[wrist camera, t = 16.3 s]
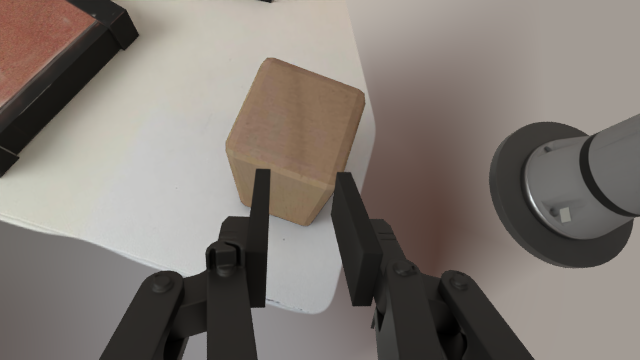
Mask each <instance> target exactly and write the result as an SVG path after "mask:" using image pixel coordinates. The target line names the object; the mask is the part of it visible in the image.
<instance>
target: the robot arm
mask: <svg viewBox="0 0 640 360" xmlns="http://www.w3.org/2000/svg"><path fill="white" fill-rule="evenodd" d="M270 177H271V169H257V168H256V172H255V180H254V187H253V195H252V203H251V211H250V217H236V216H228V217H227V218H226V219H225V221H224V222H223V223H222V225H221V229H220V233H219V239H218V241H216V242H214V243H212V244H211V245H210V246H209V247H208V248H207V250H206V268H207V269H206V270H205V271H204V272H202V273H200V274H197V275H194V276H190V277H186V278H183V277H182V275H180V274H179V273H177V272H175V271H160V272H158V273H154V274H152V275H151V276H149V277H147V278H146V279H145V280H144V282H143V283H142V285H141V286H140V288H139V290H138V291H137V293H136V295H135V297H134V299H133V300H132V302H131V304H130V306H129V307H128V309H127V311H126V313H125V314H124V316H123V318H122V320H121V322H120V323H119V325H118V327H117V329H116V331H115V332H114V334H113V336H112V338H111V339H110V341H109V343H108V345H107V346H106V348H105V350H104V352H103V353H102V355H101V357H100V359H99V360H182V357H183V354H184V350H185V348H186V344H187V342H188V339H189V336H193V335H196V334H199V333H203V332H206V331H207V360H258V359H257V351H256V344H255V337H254V330H253V323H252V315H251V308H256V307H257V308H259V307H260V308H262V307H263V308H264V307H265V299H266V275H267V252H268V228H269V204H270ZM520 185H521V191H522V195H523V198H524V200H525V203H526V205H527V207H528V208H529V210H530V212H531V213H532V214H533V216H534V217H535V218H536V219H537V221H538V222H539V223H540V224H541V225H543V226H544V227H545V228H546V229H548V230H549V231H550V232H552V233H554V234H556V235H558V236H560V237H562V238H566V239H570V240H587V239H594V238H598V237H600V236H603V235H605V234H607V233H609V232H611V231H613V230H614V229H616V228H618V227H620V226H621V225H623V224H625V223H627V222H628V221H630V220H632V219H633V218H635V217H639V216H640V114H638V115H636V116H633V117H631V118H629V119H627V120H625V121H622V122H620V123H618V124H616V125H614V126H611V127H609V128H607V129H605V130H602V131H601V132H598V133H596V134H594V135H591V136H583V137H575V138H567V139H559V140H554V141H550V142H548V143H545V144H543V145H541V146H539V147H537V148H536V149H534V150H533V151H532V152H531V153H530V154H529V155H528V156H527V157H526V159H525V160H524V163H523V165H522V168H521V173H520ZM331 217H332V222H333V226H334V230H335V234H336V238H337V243H338V247H339V251H340V255H341V259H342V264H343V268H344V272H345V276H346V280H347V284H348V288H349V293H350V297H351V301H352V306H371V304H372V300H373V296H374V299H375V303H376V309H375V313H374V317H373V321H372V325H371V328H373V329H374V326H375V329H376V341H377V352H378V360H534V358H533V357H532V356H531V354H530V353H529V352H528V350H527V349H526V348H525V346H524V345H523V344H522V342H521V341H520V340H519V339H518V337H517V336H516V335H515V333H514V332H513V331H512V329H511V328H510V327H509V325H508V324H507V323H506V322H505V320H504V319H503V318H502V316H501V315H500V314H499V312H498V311H497V310H496V309H495V307H494V306H493V305H492V303H491V302H490V301H489V299H488V298H487V297H486V295H485V294H484V293H483V291H482V290H481V289H480V288H479V286H478V285H477V284H476V282H475V281H474V280H473V279H472V278H471V277H470V276H468V275H466V274H465V273H462V272H459V271H454V270H449V271H445V272H444V273H443V274H442V276H441V278H437V277H433V276H429V275H426V274H423V273H420V270H419V268H418V267H417V266H416V265H415V264H414V263H413V262H411V261H409V260H406V258H405V255H404V253H403V251H402V250H401V247H400V245H399V243H398V241H397V240H396V237H395V235H394V233H393V231H392V228H391V226H390V225H389V224H388V223H387V222H385V221H384V220H383V219H369V217H368V214H367V212H366V209H365V207H364V204H363V202H362V199H361V197H360V194H359V192H358V189H357V187H356V184H355V182H354V179H353V177H352V174H351V172H337V174H336V181H335V188H334V196H333V203H332V210H331Z"/></svg>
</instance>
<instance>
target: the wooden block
mask: <svg viewBox="0 0 640 360" xmlns="http://www.w3.org/2000/svg"><path fill="white" fill-rule="evenodd" d="M364 107H365V97H364V93H363V92H362V91H361V90H359V89H357V88H354V87H352V86H349V85H346V84H343V83H341V82H338V81H335V80H333V79H330V78H327V77H324V76H322V75H319V74H316V73H314V72H311V71H308V70H306V69H303V68H300V67H297V66H295V65H292V64H289V63H287V62H284V61H281V60H279V59H276V58H267V59H266V60H265V61H264V62H263V63H262V64H261V66H260V68H259V70H258V72H257V75H256V77H255V79H254V81H253V83H252V86H251V88H250V90H249V92H248V94H247V97H246V99H245V101H244V103H243V105H242V107H241V110H240V112H239V114H238V116H237V118H236V121H235V123H234V125H233V127H232V129H231V132H230V134H229V136H228V138H227V140H226V153H227V157H228V160H229V163H230V167H231V170H232V173H233V177H234V180H235V183H236V187H237V190H238V193H239V196H240V200H241V202H242V203H243V204H244V205H245V206H248V207H251V203H252V195H253V187H254V180H255V172H256V168H257V169H271V177H270V204H269V214H271V215H274V216H277V217H280V218H282V219H285V220H288V221H291V222H294V223H297V224H300V225H302V226H308V225H310V224H311V223H312V221H313V220H314V219H315V217H316V216H317V215H318V213H319V212H320V210H321V209H322V208H323V206H324V205H325V203H326V202H327V201H328V199H329V198H330V197H331V195H332V194H333V192H334V188H335V181H336V174H337V172H344V170H345V166H346V163H347V160H348V157H349V154H350V151H351V147H352V144H353V141H354V138H355V135H356V132H357V129H358V125H359V122H360V119H361V116H362V113H363V110H364Z"/></svg>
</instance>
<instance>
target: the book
mask: <svg viewBox="0 0 640 360" xmlns="http://www.w3.org/2000/svg"><path fill="white" fill-rule="evenodd" d="M138 36H139V34H138V32H137V30H136V28H135V26H134V24H133V22H132V20H131V18H130V16H129V14H128V12H127V10H126V9H124V8H122V7H121V6H119V5H117V4H116V3H114V2H112V1H110V0H0V177H1V176H2V175H3V174H4V173H5V172H6V171H7V170H8V169H9V168H10V167H11V166H12V165H13V164H14V163H15V162H16V161H17V160H18V159H19V157H17V156H16V155H17V154H18V153H19V152H20V151H21V150H22V149H23V148H24V147H25V146H26V145H27V144H28V143H29V142H30V141H31V140H32V139H33V138H34V137H35V136H36V135H37V134H38V133H39V132H40V131H41V130H42V129H43V127H44V126H45V125H46V124H47V123H48V122H49V121H50V120H51V119H52V118H53V117H54V116H55V115H56V114H57V113H58V112H59V111H60V110H61V109H62V108H63V107H64V106H65V105H66V104H67V103H68V102H69V101H70V100H71V99H72V98H73V97H74V96H75V95H76V94H77V93H78V92H79V91H80V90H81V89H82V88H83V87H84V86H85V85H86V84H87V83H88V82H89V81H90V80H91V79H92V78H93V77H94V76H95V75H96V74H97V73H98V72H99V71H100V70H101V69H102V68H103V67H104V66H105V65H106V64H107V62H108V61H109V60H110V59H111V58H112V57H113V56H114V55H115V54H116V53H117V52H118V51H119V50H120V49H123V50H125V49H126V48H127V47H128V46H129V45H130V44H131V43H132V42H133V41H134V40H135V39H136V38H137V37H138Z"/></svg>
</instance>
